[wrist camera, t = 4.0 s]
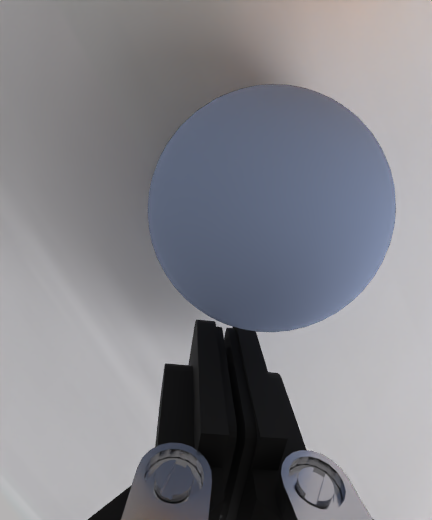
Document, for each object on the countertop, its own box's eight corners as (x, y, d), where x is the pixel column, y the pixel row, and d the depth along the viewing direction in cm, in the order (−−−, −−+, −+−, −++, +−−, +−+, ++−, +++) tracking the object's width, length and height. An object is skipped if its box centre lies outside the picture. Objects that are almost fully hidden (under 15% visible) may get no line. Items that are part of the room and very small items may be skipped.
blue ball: (419, 347, 8) (421, 130, 9) (329, 342, 4) (347, -46, 5) (230, 327, 12) (245, 170, 13) (78, 313, 8) (116, 82, 9)
